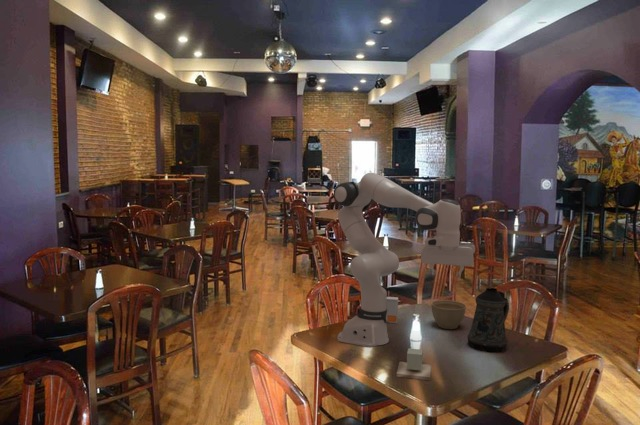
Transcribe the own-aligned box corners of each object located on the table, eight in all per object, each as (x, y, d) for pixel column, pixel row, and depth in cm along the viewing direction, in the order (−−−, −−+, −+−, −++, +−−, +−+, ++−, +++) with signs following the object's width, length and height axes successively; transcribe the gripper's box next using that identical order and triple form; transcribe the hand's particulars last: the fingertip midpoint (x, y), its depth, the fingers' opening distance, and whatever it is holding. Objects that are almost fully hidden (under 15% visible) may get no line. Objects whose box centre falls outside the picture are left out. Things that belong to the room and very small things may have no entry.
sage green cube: (406, 369, 195) (407, 353, 194) (407, 363, 200) (408, 348, 199) (421, 370, 194) (422, 354, 193) (422, 365, 199) (422, 349, 198)
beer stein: (463, 348, 224) (466, 290, 222) (472, 335, 241) (475, 282, 239) (503, 355, 217) (507, 296, 214) (510, 342, 234) (514, 286, 231)
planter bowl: (424, 322, 259) (425, 301, 258) (453, 320, 264) (454, 299, 263) (441, 332, 244) (442, 310, 243) (471, 330, 249) (472, 307, 248)
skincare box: (384, 322, 258) (385, 298, 257) (385, 320, 262) (385, 296, 261) (397, 323, 257) (398, 299, 256) (397, 320, 261) (398, 297, 260)
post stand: (396, 376, 193) (397, 357, 192) (399, 364, 204) (400, 346, 204) (429, 380, 190) (430, 361, 189) (431, 368, 201) (431, 349, 201)
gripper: (475, 241, 206) (473, 276, 208) (422, 238, 211) (420, 272, 212) (476, 243, 200) (474, 279, 201) (421, 240, 205) (419, 275, 206)
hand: (446, 275), depth 207 cm, fingers open, 8 cm apart
